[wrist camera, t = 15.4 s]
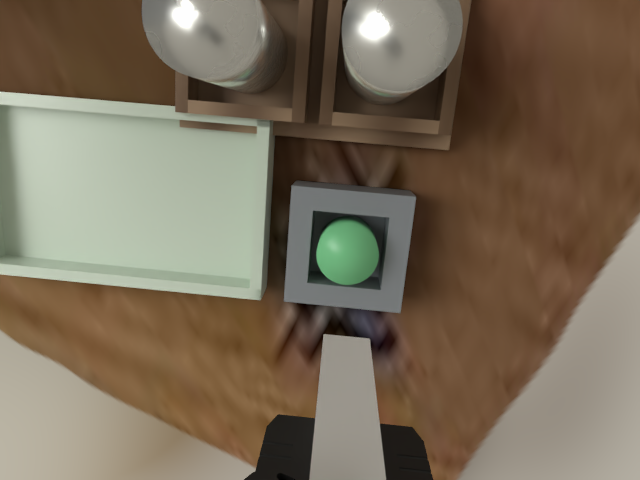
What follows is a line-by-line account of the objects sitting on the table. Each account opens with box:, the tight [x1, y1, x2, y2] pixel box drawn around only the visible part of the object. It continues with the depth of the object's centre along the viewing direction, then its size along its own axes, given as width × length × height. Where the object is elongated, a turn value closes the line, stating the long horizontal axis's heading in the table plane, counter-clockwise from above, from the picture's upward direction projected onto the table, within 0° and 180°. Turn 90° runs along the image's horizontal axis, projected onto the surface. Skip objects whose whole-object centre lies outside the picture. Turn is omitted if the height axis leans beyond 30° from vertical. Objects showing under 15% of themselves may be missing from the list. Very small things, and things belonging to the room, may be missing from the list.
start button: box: [316, 216, 379, 285], centre depth 30 cm, size 4×4×3 cm
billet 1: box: [142, 0, 288, 94], centre depth 24 cm, size 5×5×10 cm
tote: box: [0, 92, 275, 300], centre depth 32 cm, size 21×13×2 cm, turn 85°
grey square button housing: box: [284, 180, 416, 313], centre depth 31 cm, size 8×8×3 cm
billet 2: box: [342, 0, 463, 105], centre depth 24 cm, size 5×5×10 cm
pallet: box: [175, 0, 472, 150], centre depth 28 cm, size 18×10×3 cm, turn 85°
